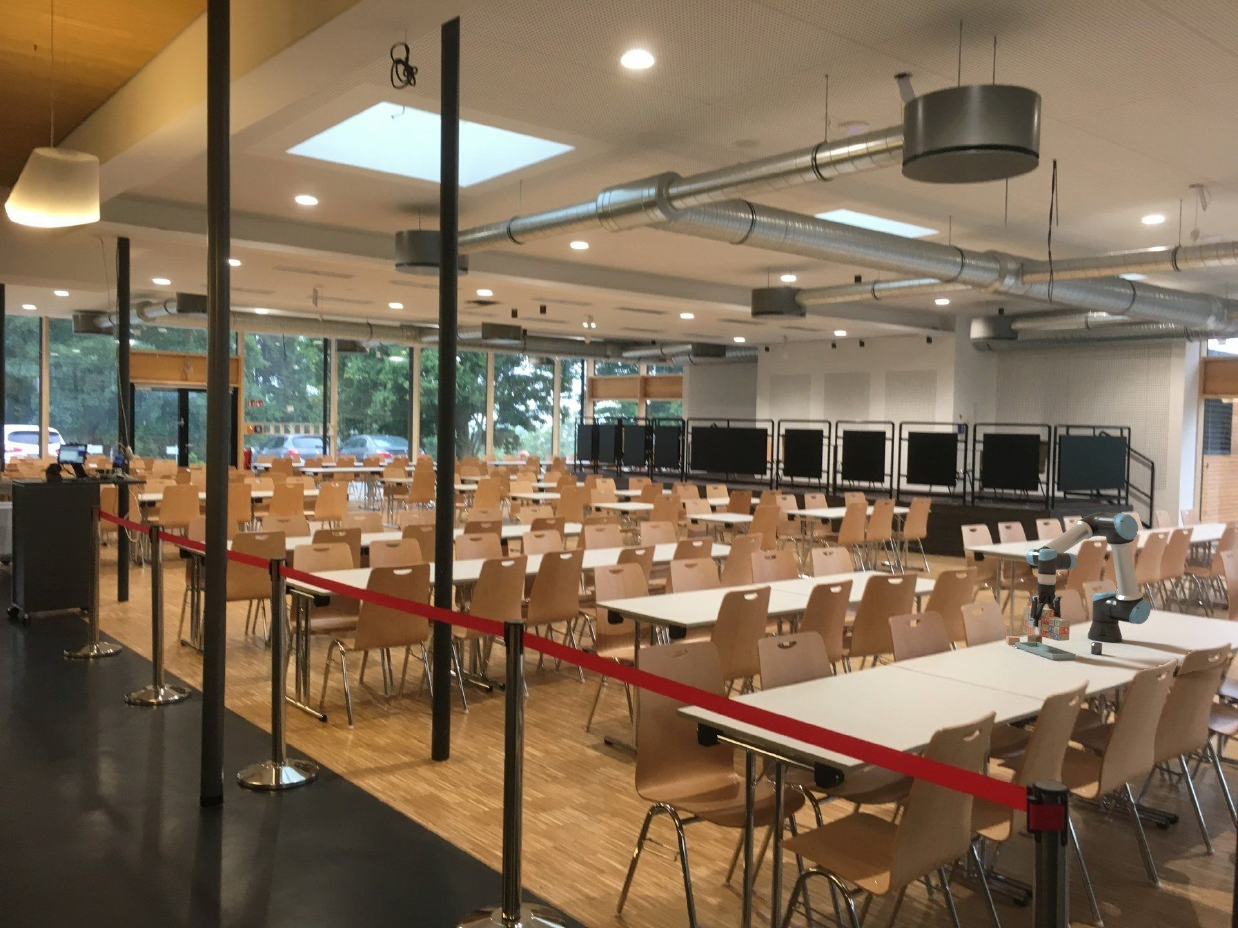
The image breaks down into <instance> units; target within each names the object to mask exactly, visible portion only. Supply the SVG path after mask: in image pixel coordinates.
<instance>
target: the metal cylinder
mask: <svg viewBox="0 0 1238 928" xmlns="http://www.w3.org/2000/svg"><path fill="white" fill-rule="evenodd" d="M1102 651H1103V643H1102V642H1100V641H1092V642H1091V645H1090V654H1091V655H1092V656H1093V655H1094V656H1102V655H1103V652H1102Z"/></svg>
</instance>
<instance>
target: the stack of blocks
mask: <svg viewBox="0 0 1238 928" xmlns="http://www.w3.org/2000/svg"><path fill="white" fill-rule="evenodd" d="M1031 607H1032V605H1026V606H1025V605H1024V606H1023V628H1022V631H1023V633H1024V634H1028V635H1036V636H1041V637H1042V638H1045V639H1050V640H1054V641H1057V642H1062V641H1063V642H1064V641H1069V640H1070V626H1071V625H1070V624H1071V620H1070V619H1067V618H1063V617H1061V618H1059V617H1054V610H1052V609H1049V607H1048V608H1047V607H1043V610H1042V613H1041V616H1040V619H1039V620H1041V632H1040V635H1038V634H1035V627H1034V619H1033V618H1031V617H1030V614H1031ZM1037 607H1038V605H1037Z"/></svg>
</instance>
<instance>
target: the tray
mask: <svg viewBox="0 0 1238 928" xmlns="http://www.w3.org/2000/svg"><path fill="white" fill-rule="evenodd" d="M1015 647H1017V648H1018V649H1017V648H1016V649H1017V650H1020V649H1021V650H1020V651H1023V650H1024V651H1023V652H1026V653H1030V654H1032V655H1036V656H1038V657H1041V658H1045V659H1047V660H1051V661H1073V660H1074V661H1075V660H1076V657H1077V656H1076V655H1077V654H1076V653H1073V652H1071V651H1067V650H1065V649H1064V650H1063V649H1061V648H1058V647H1055V646H1052V645H1048V644H1044V643H1043V642H1042V643H1039V642H1027V641H1020V642H1015V646H1014V648H1015Z"/></svg>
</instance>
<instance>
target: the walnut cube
mask: <svg viewBox="0 0 1238 928" xmlns="http://www.w3.org/2000/svg"><path fill="white" fill-rule="evenodd" d="M1026 642H1039V643H1042V644H1043V637H1041V636H1036V635H1032V634H1028V635H1027V641H1026Z"/></svg>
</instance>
